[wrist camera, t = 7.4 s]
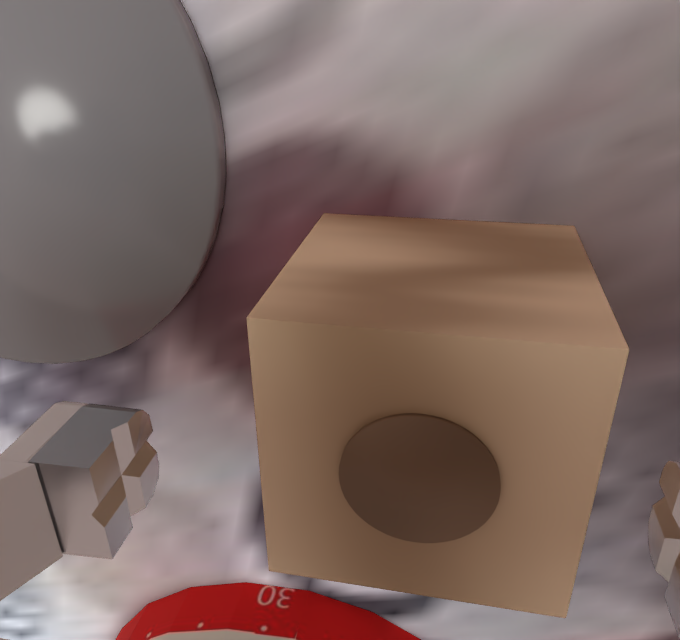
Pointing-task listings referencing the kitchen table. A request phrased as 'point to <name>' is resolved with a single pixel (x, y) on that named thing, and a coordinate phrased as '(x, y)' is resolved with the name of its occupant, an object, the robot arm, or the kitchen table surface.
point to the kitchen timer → (256, 616)
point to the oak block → (435, 407)
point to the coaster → (102, 172)
